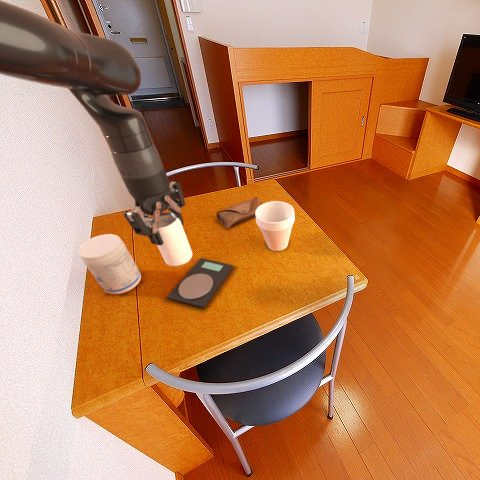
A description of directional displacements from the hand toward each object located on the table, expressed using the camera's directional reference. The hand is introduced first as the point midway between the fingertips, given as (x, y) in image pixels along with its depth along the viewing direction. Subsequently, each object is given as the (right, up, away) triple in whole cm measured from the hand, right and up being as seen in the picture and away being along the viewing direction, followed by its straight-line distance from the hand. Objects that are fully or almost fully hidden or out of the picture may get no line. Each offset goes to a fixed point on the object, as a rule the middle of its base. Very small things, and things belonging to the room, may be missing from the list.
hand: (169, 234), depth 64 cm
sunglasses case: (+5, +8, +43) cm, 44 cm away
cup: (+21, -3, +31) cm, 37 cm away
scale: (+1, -14, +16) cm, 22 cm away
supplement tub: (-22, -14, +16) cm, 30 cm away
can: (0, -6, +5) cm, 8 cm away
